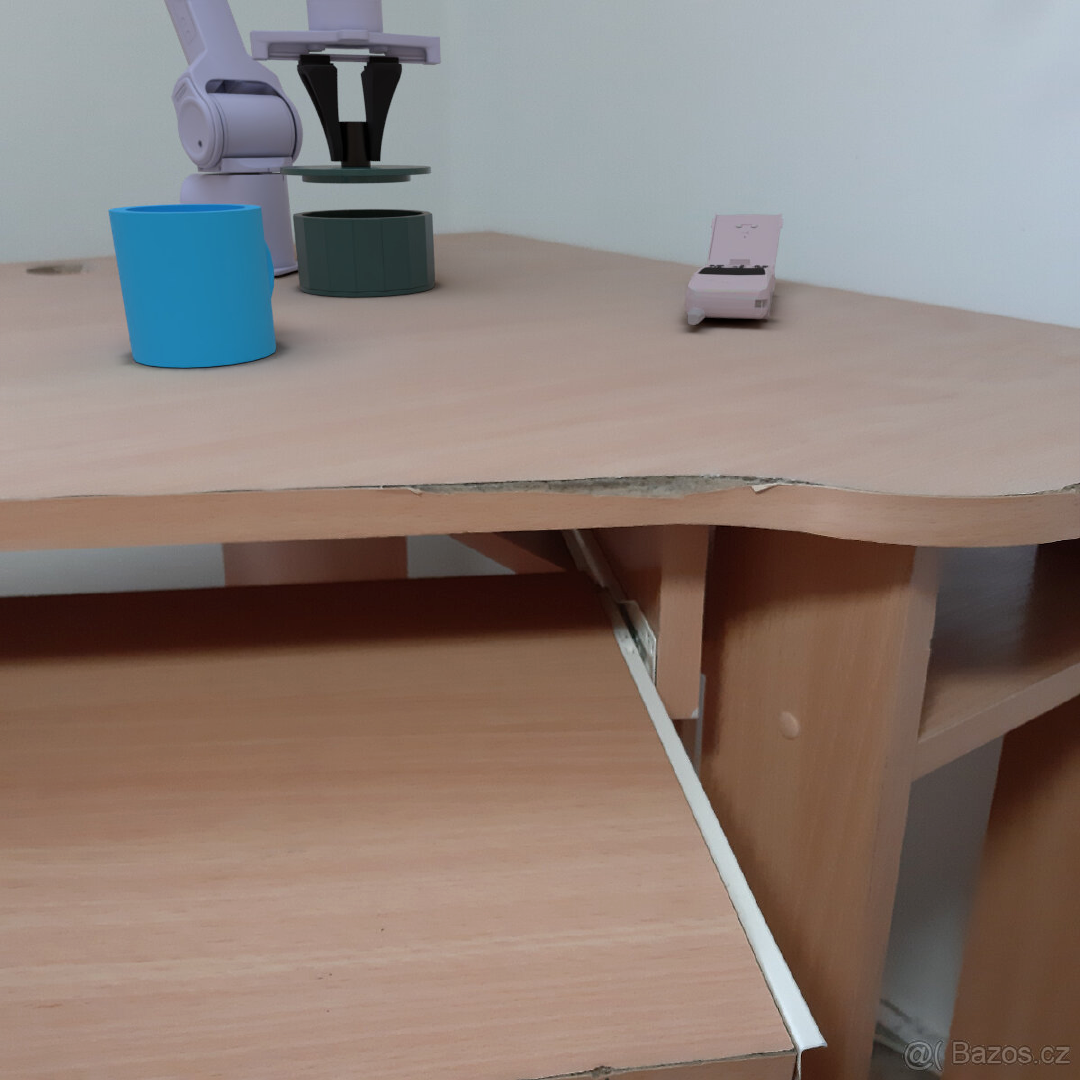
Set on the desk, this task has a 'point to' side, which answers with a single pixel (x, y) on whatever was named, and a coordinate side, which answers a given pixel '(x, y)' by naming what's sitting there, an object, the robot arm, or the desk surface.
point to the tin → (364, 252)
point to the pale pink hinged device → (736, 269)
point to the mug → (195, 283)
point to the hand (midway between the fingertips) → (355, 161)
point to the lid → (355, 163)
